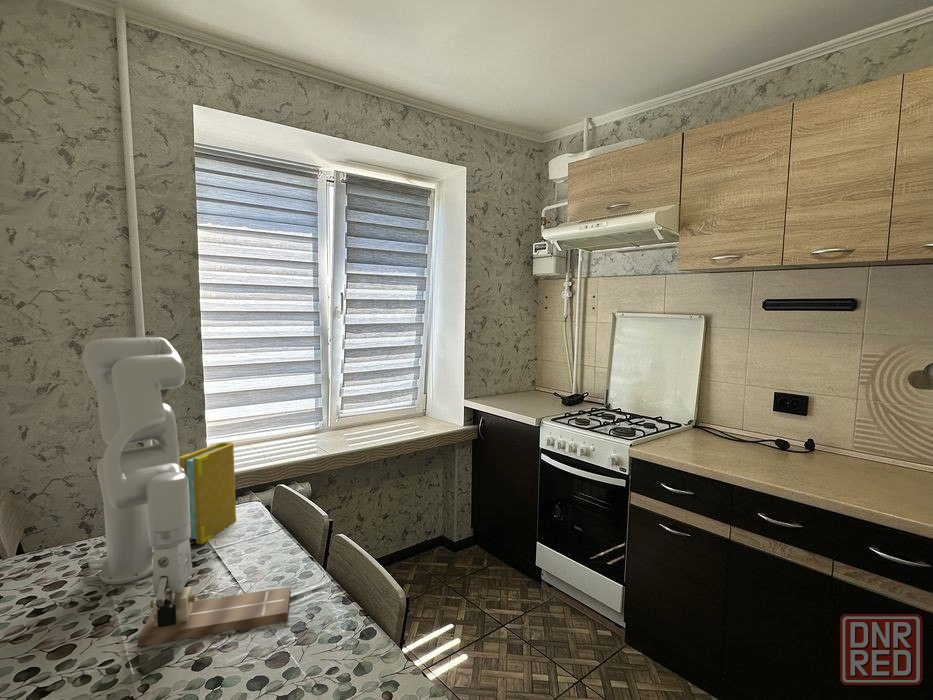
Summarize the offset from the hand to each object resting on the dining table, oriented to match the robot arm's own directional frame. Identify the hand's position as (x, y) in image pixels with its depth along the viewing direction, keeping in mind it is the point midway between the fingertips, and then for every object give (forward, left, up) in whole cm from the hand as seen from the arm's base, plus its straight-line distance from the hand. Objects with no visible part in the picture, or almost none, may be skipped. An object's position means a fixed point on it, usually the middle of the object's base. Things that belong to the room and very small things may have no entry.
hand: (173, 612), depth 101 cm
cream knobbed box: (0, 0, -1) cm, 1 cm away
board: (+9, 0, -3) cm, 10 cm away
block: (0, -11, -4) cm, 12 cm away
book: (-2, +47, -3) cm, 47 cm away
